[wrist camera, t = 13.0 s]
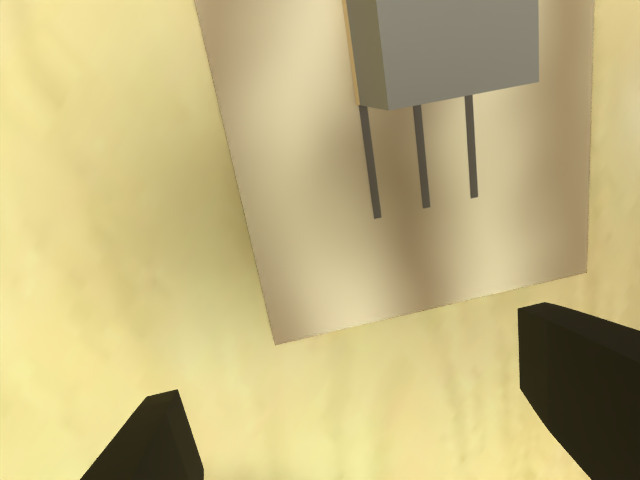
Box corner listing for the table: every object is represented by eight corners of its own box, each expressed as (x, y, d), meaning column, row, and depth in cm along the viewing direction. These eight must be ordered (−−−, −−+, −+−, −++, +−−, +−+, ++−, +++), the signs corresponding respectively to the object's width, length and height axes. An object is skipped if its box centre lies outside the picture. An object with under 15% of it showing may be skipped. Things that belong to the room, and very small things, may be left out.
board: (583, -233, 15) (602, -251, 15) (574, 265, 21) (587, 272, 21) (153, -179, 14) (148, -195, 13) (273, 335, 20) (275, 345, 19)
